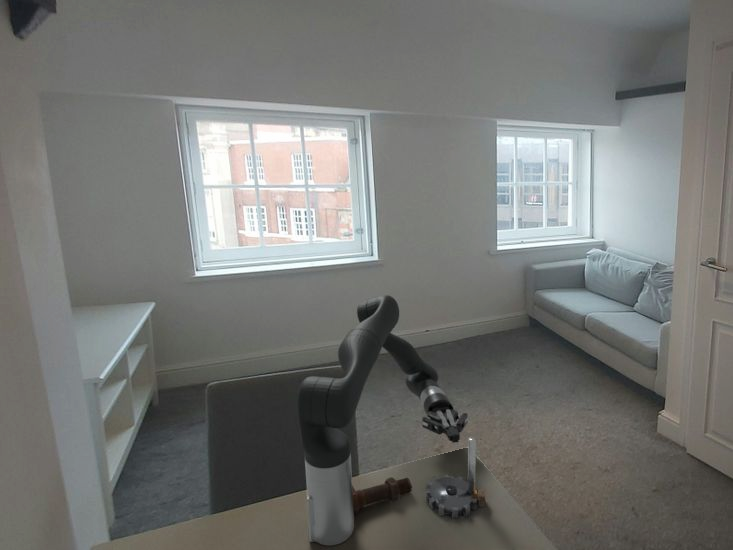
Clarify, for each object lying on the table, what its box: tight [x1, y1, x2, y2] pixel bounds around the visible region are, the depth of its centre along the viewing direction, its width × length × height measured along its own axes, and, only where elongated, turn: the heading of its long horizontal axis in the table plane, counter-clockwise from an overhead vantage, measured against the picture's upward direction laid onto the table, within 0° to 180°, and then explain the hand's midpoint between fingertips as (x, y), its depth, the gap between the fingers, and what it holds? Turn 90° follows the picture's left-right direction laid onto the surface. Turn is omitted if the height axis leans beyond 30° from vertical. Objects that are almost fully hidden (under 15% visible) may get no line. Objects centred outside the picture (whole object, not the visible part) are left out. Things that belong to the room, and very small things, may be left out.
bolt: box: [352, 476, 413, 516], centre depth 94 cm, size 6×5×15 cm
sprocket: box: [425, 436, 478, 519], centre depth 93 cm, size 11×11×15 cm
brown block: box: [478, 489, 486, 508], centre depth 92 cm, size 1×2×2 cm, turn 167°
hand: (455, 439), depth 103 cm, fingers closed
